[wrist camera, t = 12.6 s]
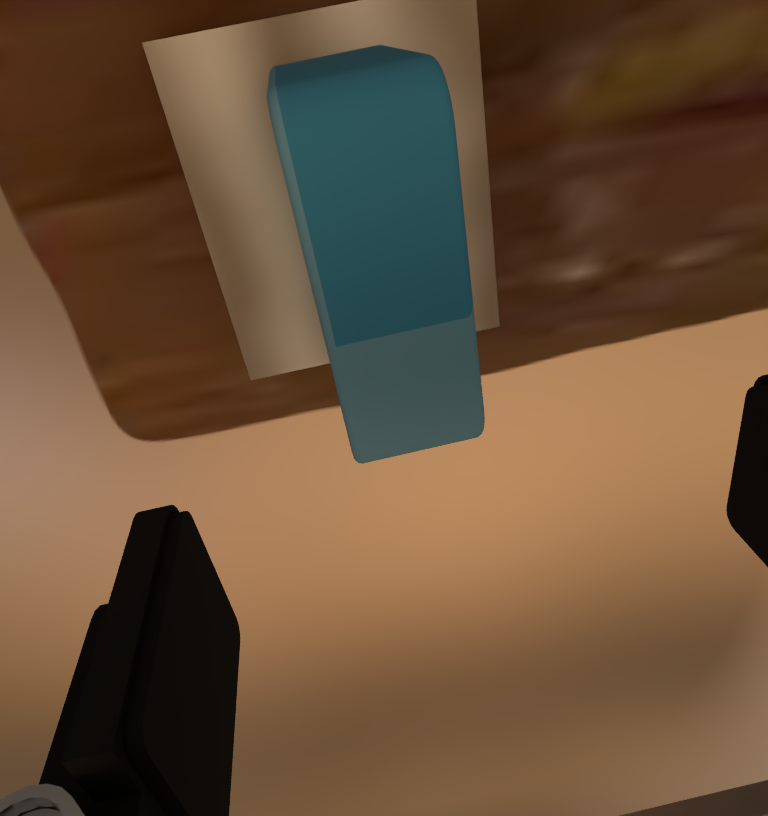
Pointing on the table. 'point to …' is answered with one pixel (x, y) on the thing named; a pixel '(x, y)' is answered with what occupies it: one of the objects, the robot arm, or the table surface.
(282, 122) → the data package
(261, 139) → the birch riser block
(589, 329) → the table surface
